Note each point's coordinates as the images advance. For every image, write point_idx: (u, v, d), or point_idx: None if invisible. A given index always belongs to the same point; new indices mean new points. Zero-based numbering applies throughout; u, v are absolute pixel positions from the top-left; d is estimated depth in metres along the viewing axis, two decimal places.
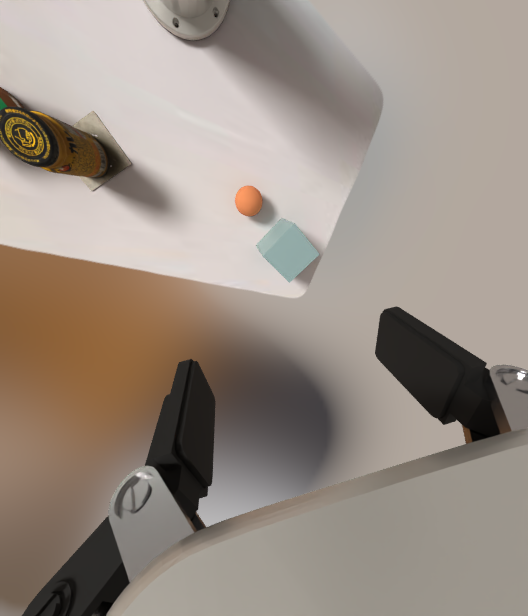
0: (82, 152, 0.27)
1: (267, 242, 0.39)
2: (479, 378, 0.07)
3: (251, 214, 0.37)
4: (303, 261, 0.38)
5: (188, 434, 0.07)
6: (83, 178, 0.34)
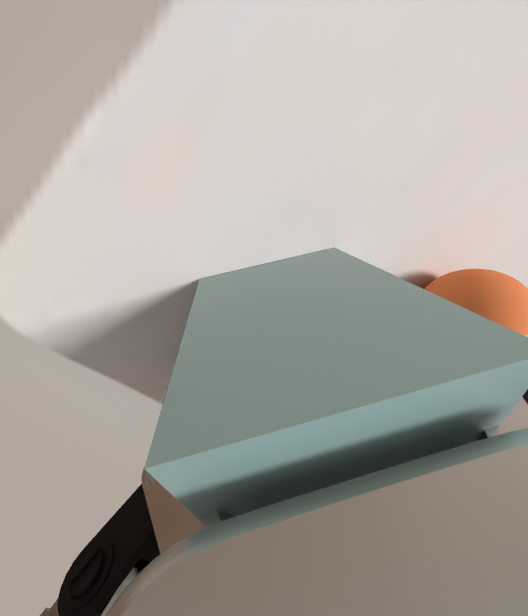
0: None
1: None
2: None
3: (471, 310, 0.10)
4: None
5: None
6: None
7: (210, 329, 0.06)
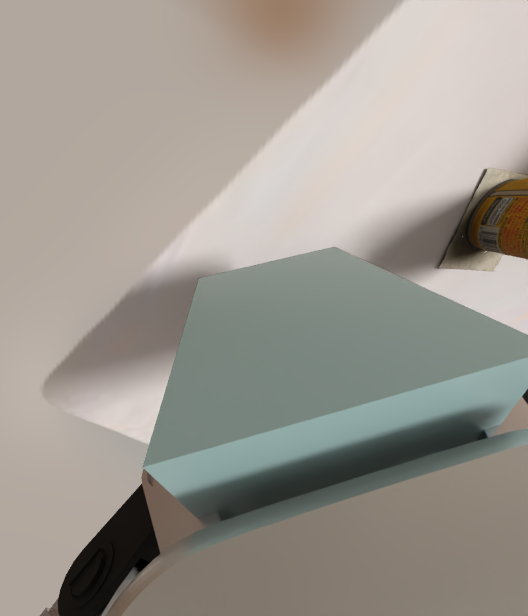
0: None
1: None
2: None
3: None
4: None
5: None
6: (502, 175, 0.17)
7: (209, 328, 0.06)
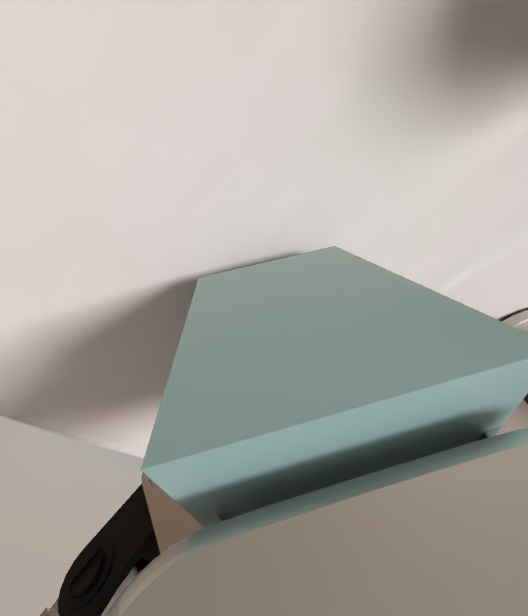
0: None
1: None
2: None
3: None
4: None
5: None
6: None
7: (209, 328, 0.06)
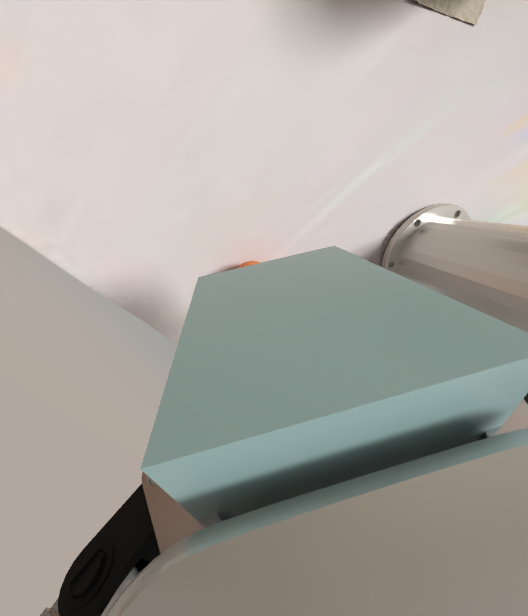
0: None
1: None
2: None
3: None
4: None
5: None
6: None
7: (209, 327, 0.06)
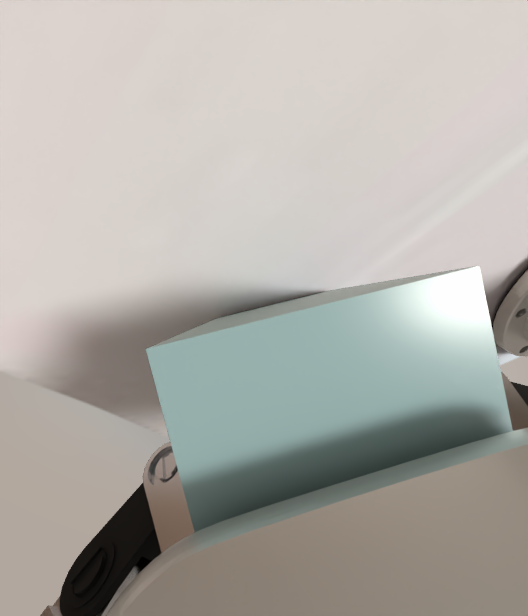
0: None
1: None
2: None
3: None
4: None
5: None
6: None
7: (216, 322, 0.08)
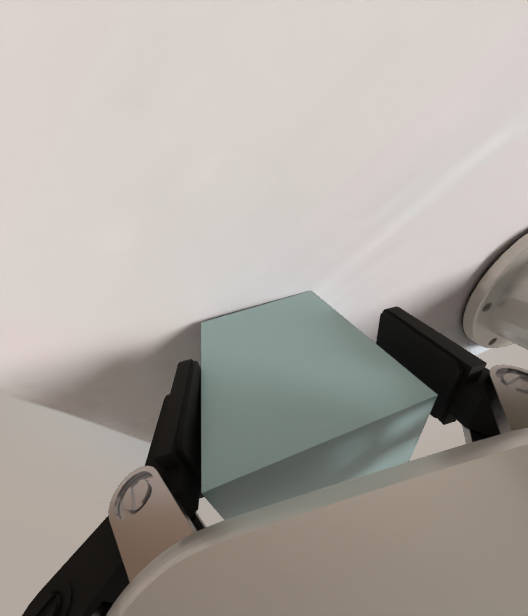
0: None
1: None
2: (479, 378, 0.07)
3: None
4: None
5: (188, 434, 0.07)
6: None
7: (222, 379, 0.09)
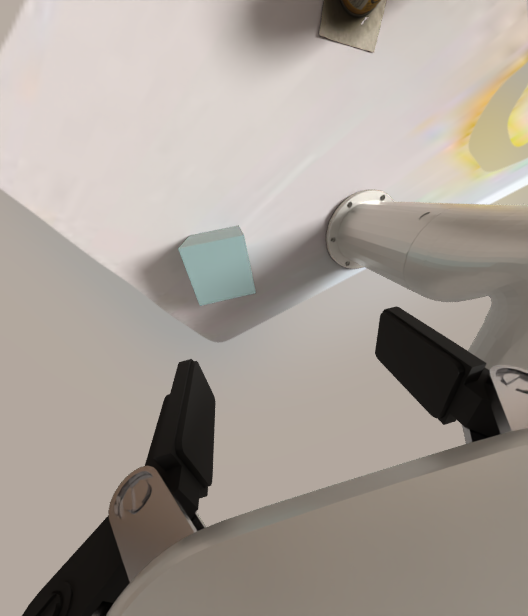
0: None
1: None
2: (479, 378, 0.07)
3: None
4: (202, 283, 0.26)
5: (188, 434, 0.07)
6: None
7: (190, 240, 0.26)
